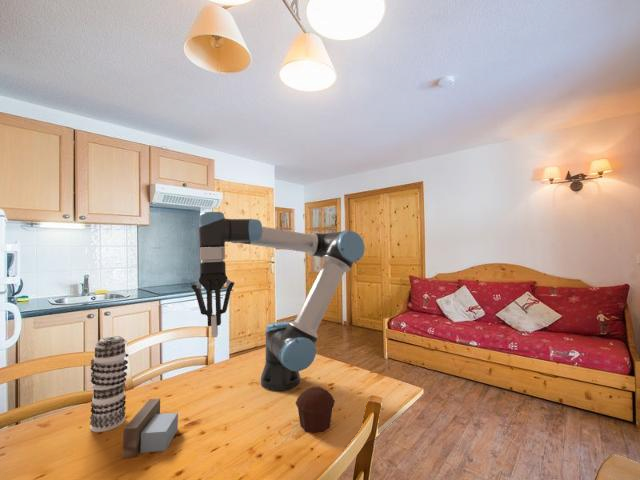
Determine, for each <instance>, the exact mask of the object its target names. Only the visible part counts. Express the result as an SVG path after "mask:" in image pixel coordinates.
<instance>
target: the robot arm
mask: <svg viewBox="0 0 640 480" xmlns="http://www.w3.org/2000/svg"><path fill="white" fill-rule="evenodd" d="M198 218H199V221H198V222H199V225H198V233H199V261H201V262H200V264H199V267H200V268H199V270H200V271H199V272H200V276H199V278H198V281H197V282H195V283H193V284H191V289H192V290H193V291H194V293H195V297H196V300H197V304H198V308H199V311H200V314H201V315H204V316H206V317H207V326H208V327H211V329H210V331H211V332H210V333H211V334H210V335H211V338H218V336H219V329H218V326H221V324H222V314H226V312H227V309H228V305H229V301H230V297H231V292H232V289H233V287H234V286H235V281H231V280H229V279H228V276H227V272H226V262H225V260H226V248H225V247H226V243H232V244H241V245H242V244H243V245H252V246H259V247H266V248H272V249H273V248H274V249H279V250H287V251H296V252H302V253H307V254H308V255H309V256H313V257H319V258H323V259H322V260H323V261H324V262H323V264H322V266H321V268H320V270H319V272H318V274H317V275H316V278H315V279H314V281H313V284H312V286H311V287H310V290H309V292H308V293H307V296H306V298H305V300H304V302H303V304H302V306H301V308H300V310H299V312H298V314H297V316H296V318H295V319H294V320H292V321H278V322H277V321H276V322H270V323H268V324H267V325H266V327H265V333H264V334H265V364H264V367H263V369H262V373H261V377H260V385H261V387H262V388H264V389H266V390H270V391H275V392H277V391H279V392H280V391H287V390H292V389H294V388H295V387H297V386H298V385H299V384H300V381H301V380H300V378H301V377H300V376H301V375H300V372H301V371H304V370H305V369H307V368H309V367H310V366H311V365H312V363H314V360H315V357H316V354H317V351H316V346H315V344H316V343H317V340H318V338H319V336H318V332H317V330H318V328H319V326H320V325H321V322H322V320H323V318H324V317H325V313H326V312H327V309H328V308H329V305H330V303H331V301H332V299H333V297H334V295H335V293H336V292H337V291H336V290H337V289H338V286H339V285H340V283H341V280H342V278H343V276H344V274H345V273H346V272H349V271H351V269H352V267H353V265H354V263H355V262H356V263H357V262H358V261H359V260H361V259H362V258H363V257H364V254H365V251H366V249H365V243H364V239H363V238H362V236H361V235H360V234H359V233H358V232H356V231H352V230H343V231H334V232H333V231H332V232H327V233H326V232H325V233H319V232H312V233H311V234H309V233H304V232H297V231H290V230H284V229H279V228H272V227H266V226H263V224H262V222H261V221H260V219H258V218H257V219H254V218H225V213H223V212H222V211H220V212H219V211H204V212H202V213H200V214H199V217H198ZM225 284H226V285H225ZM224 285H225V286H226V291H225V296H224V299H223V305H222V301H221V298H222V297H221V295H222V294H221V292H222V291H221V289H222V288H223V287H224ZM202 287H203V289H204V290H205V291H206V292H205V293H206V304H205V300H204V297H203V293H202V290H201V288H202ZM213 291H214V294H215V295H214V296H215V297H214V298H215V314H213V313H214V312H213Z"/></svg>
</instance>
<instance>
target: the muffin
mask: <svg viewBox="0 0 640 480" xmlns="http://www.w3.org/2000/svg"><path fill="white" fill-rule="evenodd" d="M335 403H336V401H335V399H334V397H333V395H332V394H331V392H330V391H329V390H327V389H324V388H323V387H320V386H314V387H309V388H307V389H305V390H304V391H302V392H301V393H300V394H299V396H298V398H296V401H295V405H296V407H297V411H298V416H299V417H298V418H299V425H300V428H302V430H303V431H304V432H306V433H311V434H314V435H315V434H319V433H320V434H321V433H324V432H326V431H327V430H328V429H330V427H331V422H332V415H333V414H332V413H333V408H334V407H335Z"/></svg>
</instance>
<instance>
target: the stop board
mask: <svg viewBox="0 0 640 480" xmlns="http://www.w3.org/2000/svg"><path fill="white" fill-rule="evenodd" d="M155 414H161V398H149V399H147V401H146V403H145V404H144V405H143V406H142V407H141V408H140V409H139V411H137V413H136V414H135V415H134V416H133V418H132V419H131V420H130V421H129V422H128V423H127V424H126V426H125V427H124V428H123V438H122V440H123V441H122V458H123V459H125V458H126V459H127V458H136V457H137V456H138V455H139V453H140V450H141V433H142V431H143V430H144V429H145V427H146V426H147V425H148V423H149V422H150V421H151V420H152V418H153V417H154V416H155Z"/></svg>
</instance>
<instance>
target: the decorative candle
mask: <svg viewBox="0 0 640 480" xmlns="http://www.w3.org/2000/svg"><path fill="white" fill-rule="evenodd" d="M126 343H127V340H126V339H124V338H123V337H122V336H119V335H113V336H107V337H103V338H100V339H99V340H98V341H97V343H96V344H94V345H93V348H94V355H93V358H92V359H91V360H90V371H91V372H90V373H91V374H90V377H91V379H90V382H91V383H92V384H91V389H93V395H92V400H91V401H92V402H90V403H91V404H90V407H91V408H90V409H91V410H90V412H91V414H90V417H89V419H90V422H89V425H90V427H89V428H90V431H92V432H93V433H94V432H95V433H101V432H106V431H111V430H113V429H115V428H118V427H119V426H121V425H122V424H123V423H125V420H126V406H125V405H126V402H127V401H126V398H127V396H126V394H125V393H126V392H125V391H126V390H125V383H126V382H127V377H126V376H128V373H127V372H126V370H128V366H127V364H128V363H129V361H128V360H126V359H125V358H128V357H129V354H128V353H127V352H126Z"/></svg>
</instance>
